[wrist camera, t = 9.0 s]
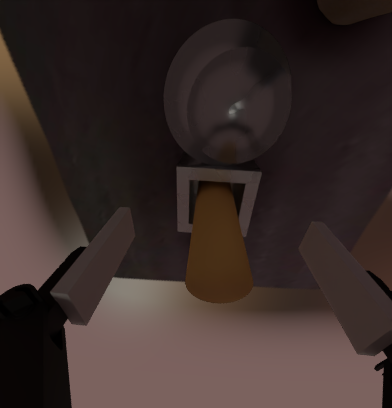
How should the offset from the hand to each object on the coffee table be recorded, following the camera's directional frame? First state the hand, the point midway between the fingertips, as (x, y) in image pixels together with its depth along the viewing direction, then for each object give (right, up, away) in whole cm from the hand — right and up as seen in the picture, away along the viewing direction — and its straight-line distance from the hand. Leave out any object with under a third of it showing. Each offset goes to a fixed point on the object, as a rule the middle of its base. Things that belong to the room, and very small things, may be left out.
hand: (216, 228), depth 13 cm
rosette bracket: (+1, +6, +10) cm, 12 cm away
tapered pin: (+1, +5, +8) cm, 10 cm away
